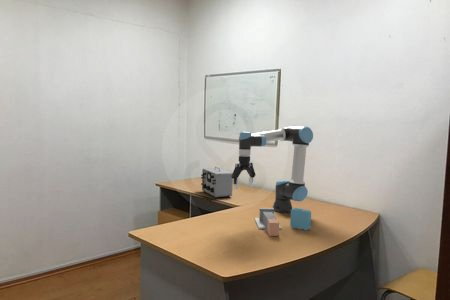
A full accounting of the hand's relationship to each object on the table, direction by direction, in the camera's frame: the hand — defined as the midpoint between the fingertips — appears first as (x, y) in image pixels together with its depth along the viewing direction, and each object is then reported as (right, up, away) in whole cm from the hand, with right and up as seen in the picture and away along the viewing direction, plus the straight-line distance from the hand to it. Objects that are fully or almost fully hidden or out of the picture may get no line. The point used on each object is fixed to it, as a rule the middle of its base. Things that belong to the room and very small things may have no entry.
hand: (243, 188), depth 217 cm
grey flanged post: (+16, -24, -1) cm, 29 cm away
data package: (+36, -25, -5) cm, 44 cm away
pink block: (+17, -25, -18) cm, 35 cm away
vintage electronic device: (-21, -16, +85) cm, 89 cm away
